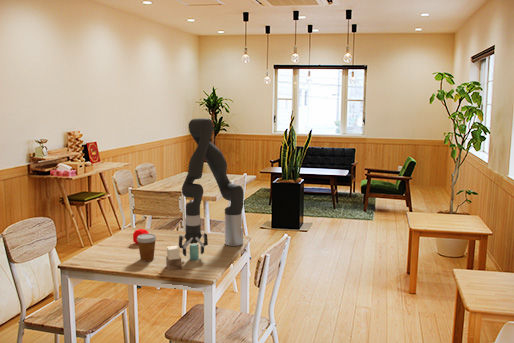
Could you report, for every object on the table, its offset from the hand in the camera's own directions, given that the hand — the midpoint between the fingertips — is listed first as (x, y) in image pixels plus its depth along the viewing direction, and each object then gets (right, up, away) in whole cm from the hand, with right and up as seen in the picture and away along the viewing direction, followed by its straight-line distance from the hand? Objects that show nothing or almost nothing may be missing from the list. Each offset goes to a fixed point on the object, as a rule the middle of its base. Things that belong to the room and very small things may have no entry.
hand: (193, 254), depth 253 cm
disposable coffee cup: (-23, -3, 0) cm, 23 cm away
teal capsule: (0, -2, 0) cm, 2 cm away
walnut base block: (-8, -4, -11) cm, 14 cm away
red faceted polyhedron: (-32, +2, +25) cm, 41 cm away
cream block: (-8, +1, -12) cm, 14 cm away
